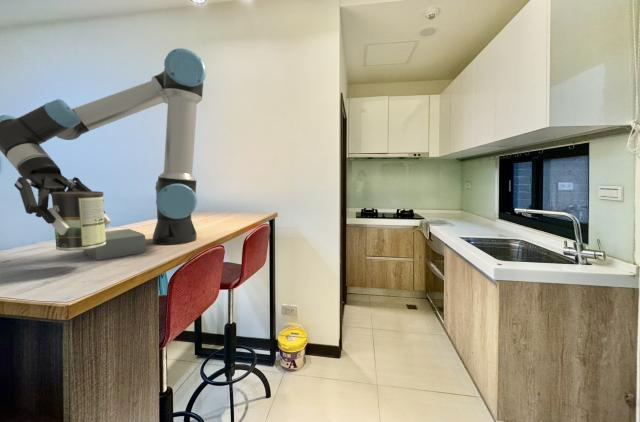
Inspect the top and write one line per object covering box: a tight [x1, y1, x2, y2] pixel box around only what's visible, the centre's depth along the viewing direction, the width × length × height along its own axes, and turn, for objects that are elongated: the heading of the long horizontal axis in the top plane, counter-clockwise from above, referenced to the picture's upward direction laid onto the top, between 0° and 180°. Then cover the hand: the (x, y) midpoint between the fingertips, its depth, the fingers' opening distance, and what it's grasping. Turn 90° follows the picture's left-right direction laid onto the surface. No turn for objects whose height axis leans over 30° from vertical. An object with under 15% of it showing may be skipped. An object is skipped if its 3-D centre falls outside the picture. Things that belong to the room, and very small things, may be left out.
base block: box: [83, 228, 147, 261], centre depth 91 cm, size 13×13×6 cm
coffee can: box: [50, 190, 106, 252], centre depth 74 cm, size 10×10×14 cm
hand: (87, 227), depth 74 cm, fingers closed on coffee can, 10 cm apart
